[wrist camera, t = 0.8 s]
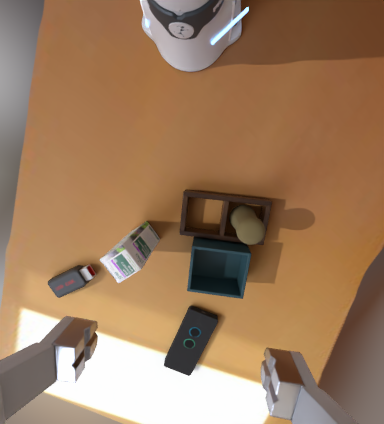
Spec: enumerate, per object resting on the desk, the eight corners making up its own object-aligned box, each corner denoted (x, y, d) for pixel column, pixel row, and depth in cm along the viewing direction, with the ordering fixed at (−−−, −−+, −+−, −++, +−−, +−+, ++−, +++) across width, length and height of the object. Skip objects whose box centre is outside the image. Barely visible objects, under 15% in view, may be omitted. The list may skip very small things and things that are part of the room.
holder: (185, 189, 47) (183, 191, 44) (268, 199, 46) (272, 201, 43) (181, 230, 49) (179, 234, 46) (260, 240, 48) (263, 245, 45)
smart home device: (219, 321, 52) (190, 377, 57) (219, 316, 54) (191, 370, 59) (188, 309, 52) (162, 366, 57) (189, 304, 54) (163, 360, 59)
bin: (194, 235, 49) (192, 245, 43) (245, 241, 49) (251, 253, 42) (189, 275, 52) (187, 291, 46) (238, 281, 51) (242, 298, 45)
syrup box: (161, 239, 50) (143, 269, 36) (142, 251, 51) (117, 285, 37) (147, 220, 49) (122, 243, 35) (128, 233, 51) (97, 260, 36)
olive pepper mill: (261, 217, 47) (277, 234, 36) (241, 235, 48) (250, 256, 38) (243, 199, 46) (253, 210, 36) (223, 217, 48) (228, 233, 37)
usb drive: (52, 278, 55) (44, 283, 53) (88, 260, 53) (81, 265, 51) (63, 293, 56) (55, 300, 53) (99, 277, 54) (93, 283, 51)
